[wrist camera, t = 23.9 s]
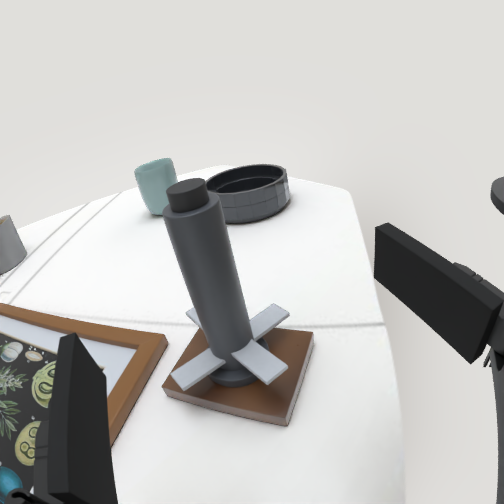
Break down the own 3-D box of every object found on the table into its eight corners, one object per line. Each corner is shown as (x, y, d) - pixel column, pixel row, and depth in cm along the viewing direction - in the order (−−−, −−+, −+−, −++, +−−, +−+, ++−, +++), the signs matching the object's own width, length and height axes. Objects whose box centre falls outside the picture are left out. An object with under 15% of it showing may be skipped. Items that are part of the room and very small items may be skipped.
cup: (182, 214, 61) (168, 165, 56) (144, 222, 61) (129, 175, 56) (186, 199, 67) (174, 155, 62) (152, 207, 68) (139, 164, 62)
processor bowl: (298, 189, 61) (294, 162, 58) (277, 226, 50) (272, 192, 47) (228, 191, 67) (223, 166, 64) (194, 225, 55) (186, 196, 52)
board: (314, 342, 29) (313, 331, 28) (287, 426, 22) (285, 417, 21) (209, 328, 33) (205, 317, 32) (167, 396, 26) (161, 386, 25)
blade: (247, 302, 33) (211, 151, 25) (330, 355, 25) (319, 166, 17) (156, 361, 28) (83, 206, 20) (225, 441, 20) (132, 257, 12)
